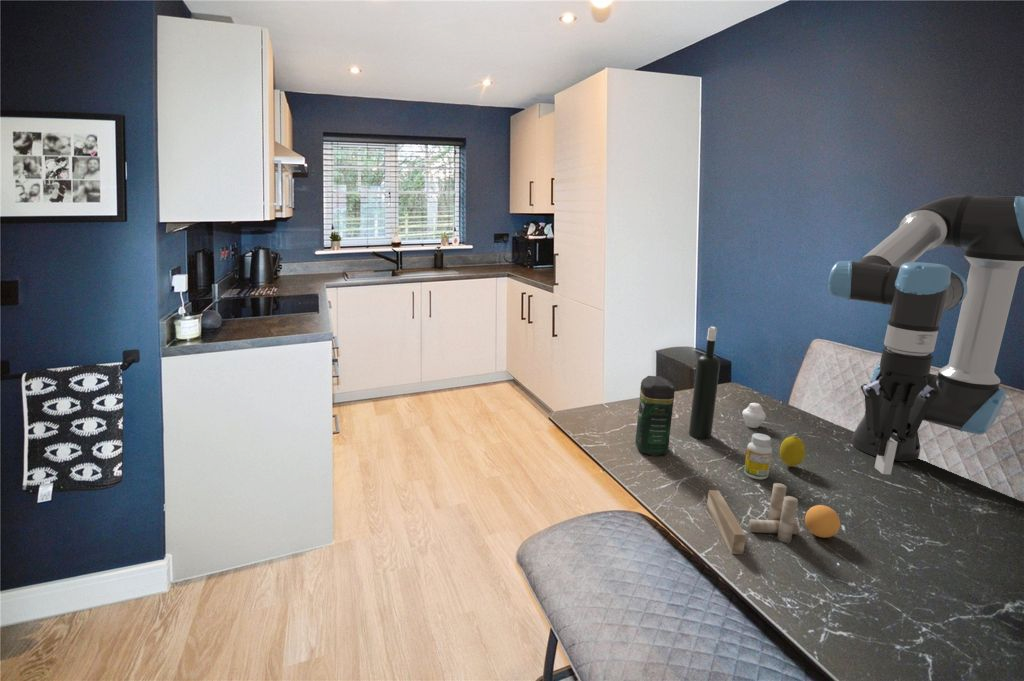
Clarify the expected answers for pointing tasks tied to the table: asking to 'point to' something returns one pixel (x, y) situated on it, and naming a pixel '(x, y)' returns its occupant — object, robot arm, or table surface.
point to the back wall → (726, 522)
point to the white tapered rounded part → (753, 415)
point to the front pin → (767, 526)
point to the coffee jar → (654, 415)
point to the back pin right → (777, 501)
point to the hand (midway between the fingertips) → (882, 470)
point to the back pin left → (787, 519)
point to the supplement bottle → (758, 457)
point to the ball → (822, 521)
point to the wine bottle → (705, 390)
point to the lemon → (792, 451)
